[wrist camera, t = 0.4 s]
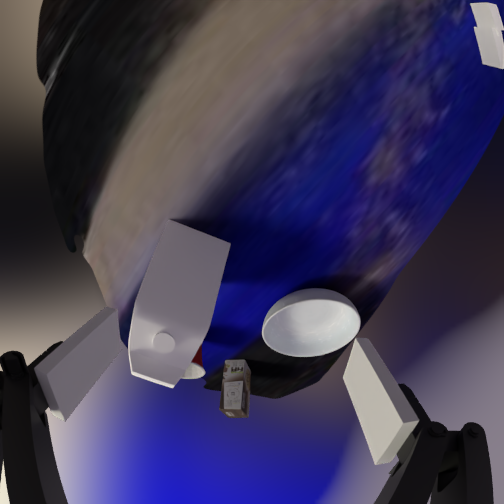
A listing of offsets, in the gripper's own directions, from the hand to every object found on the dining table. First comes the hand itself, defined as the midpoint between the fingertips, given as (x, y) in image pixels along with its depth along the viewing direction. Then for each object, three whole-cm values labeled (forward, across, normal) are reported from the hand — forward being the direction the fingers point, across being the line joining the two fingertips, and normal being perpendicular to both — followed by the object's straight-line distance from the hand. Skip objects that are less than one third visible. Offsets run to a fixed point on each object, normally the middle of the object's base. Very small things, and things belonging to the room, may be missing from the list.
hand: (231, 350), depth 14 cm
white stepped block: (+16, +34, +43) cm, 57 cm away
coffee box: (+58, 0, -43) cm, 73 cm away
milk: (+38, -12, -5) cm, 40 cm away
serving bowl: (+44, +14, -16) cm, 49 cm away
